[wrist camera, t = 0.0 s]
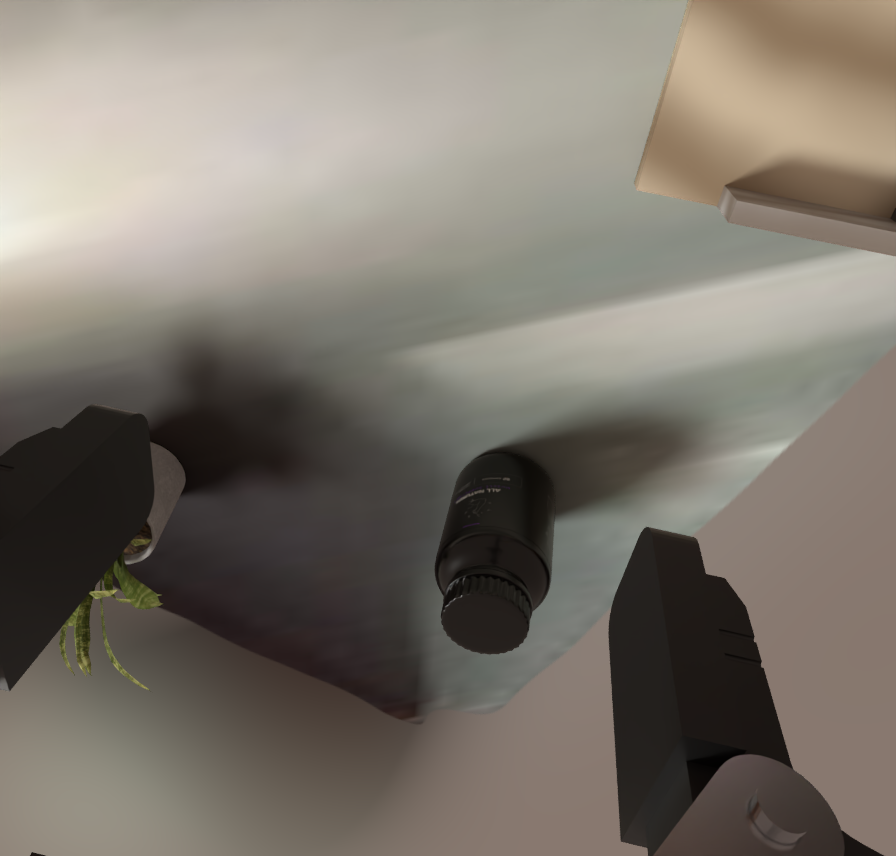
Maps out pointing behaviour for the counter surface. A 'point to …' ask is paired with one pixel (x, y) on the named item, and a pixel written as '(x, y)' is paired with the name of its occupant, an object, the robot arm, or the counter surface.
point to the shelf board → (783, 118)
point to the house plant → (131, 560)
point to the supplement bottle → (496, 552)
